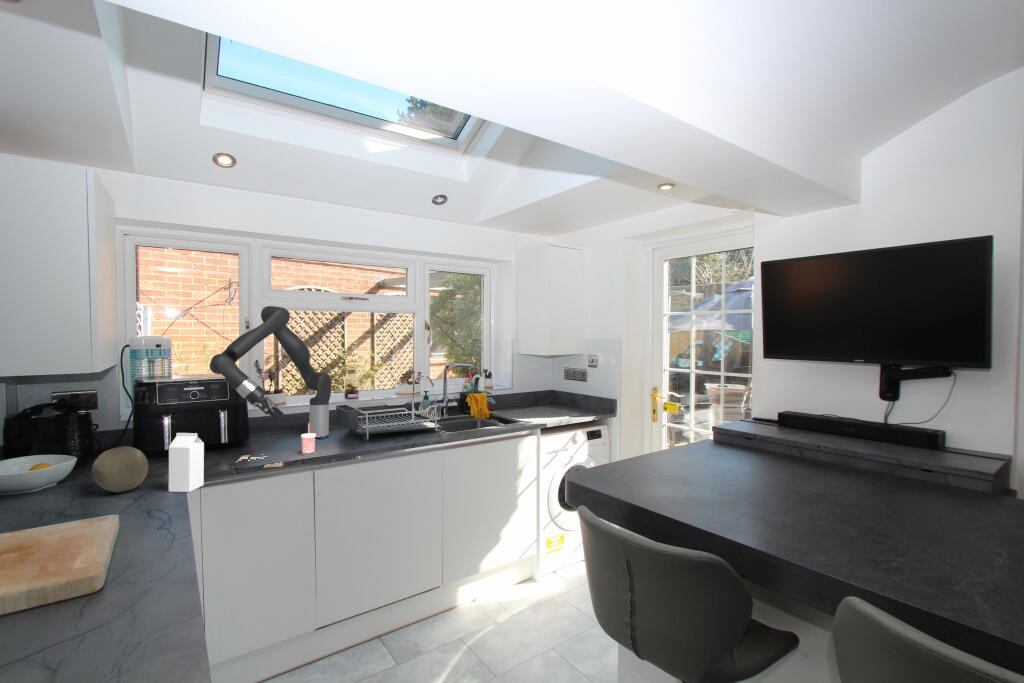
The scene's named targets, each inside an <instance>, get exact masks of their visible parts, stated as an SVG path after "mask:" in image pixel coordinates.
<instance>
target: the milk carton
mask: <svg viewBox="0 0 1024 683" xmlns="http://www.w3.org/2000/svg"><path fill="white" fill-rule="evenodd" d="M204 456H205V443H204V441H203V440H202V439H201V438H200V437H199V436H198V433H197V432H195V433H193V432H192V433H191V432H176V436H175V438H174V439H173V440H172V442H171V443H170V445H169V446H168V492H171V493H172V492H173V493H174V492H175V493H190V492H192V491H194V490H196V489H199V488H200V487H201V488H202V487H203V486H204V480H205V477H204V476H205V474H204V472H205V470H204V468H205V463H204V462H205V460H204V459H205V458H204Z"/></svg>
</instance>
